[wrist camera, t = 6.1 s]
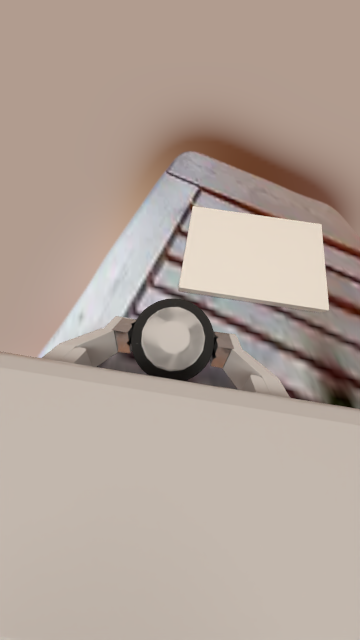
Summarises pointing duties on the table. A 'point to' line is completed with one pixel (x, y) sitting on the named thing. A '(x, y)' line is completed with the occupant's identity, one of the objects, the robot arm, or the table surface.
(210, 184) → the table surface
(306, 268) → the board
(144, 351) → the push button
